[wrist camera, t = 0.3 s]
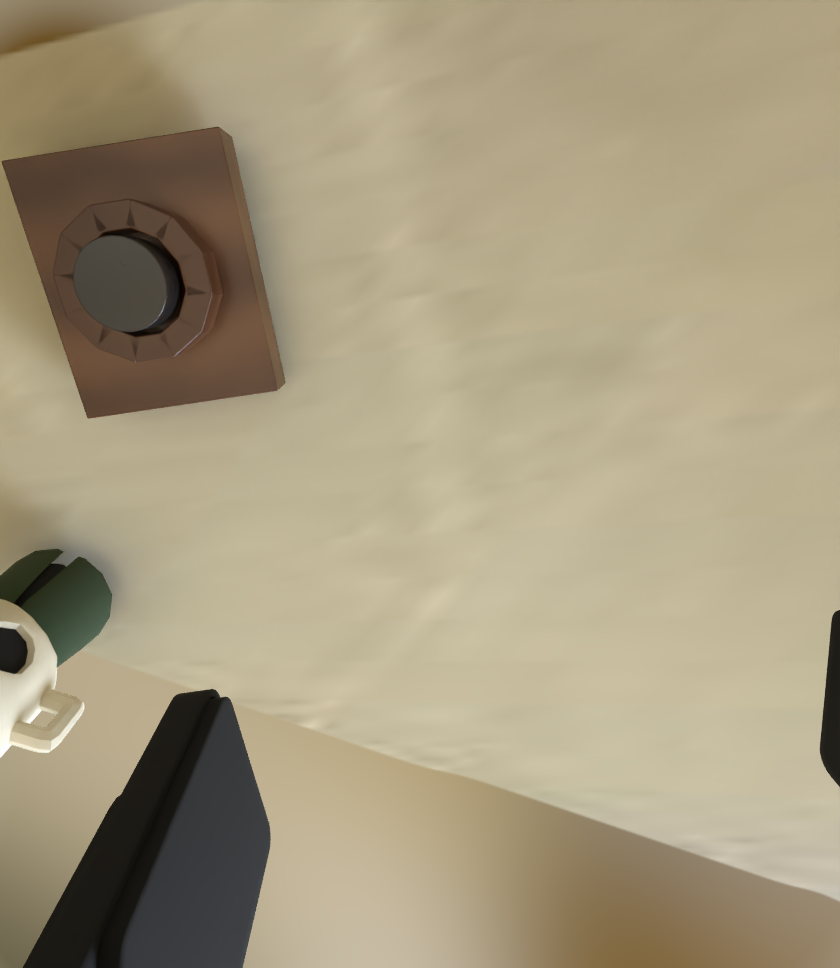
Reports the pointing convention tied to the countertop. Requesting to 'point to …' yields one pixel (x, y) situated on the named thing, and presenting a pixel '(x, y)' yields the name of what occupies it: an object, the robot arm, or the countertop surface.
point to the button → (126, 283)
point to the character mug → (44, 643)
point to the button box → (189, 245)
